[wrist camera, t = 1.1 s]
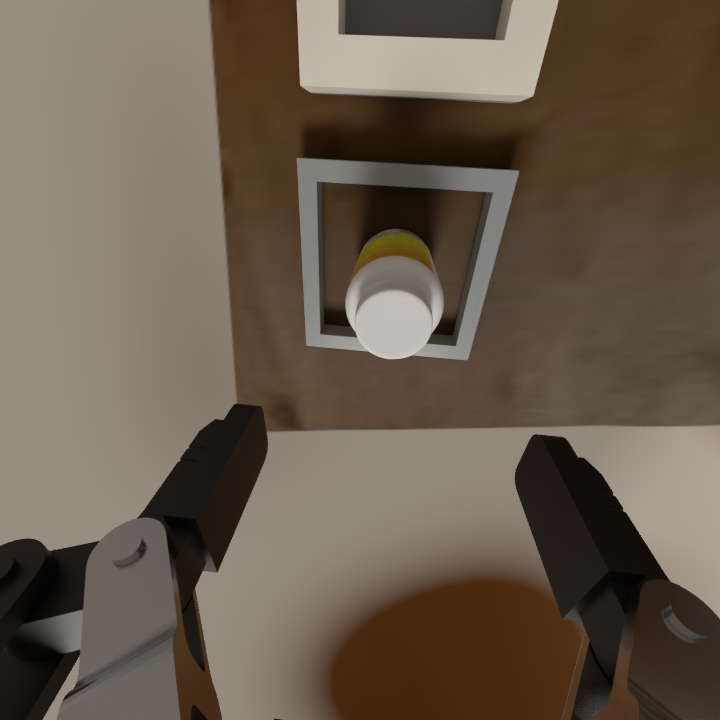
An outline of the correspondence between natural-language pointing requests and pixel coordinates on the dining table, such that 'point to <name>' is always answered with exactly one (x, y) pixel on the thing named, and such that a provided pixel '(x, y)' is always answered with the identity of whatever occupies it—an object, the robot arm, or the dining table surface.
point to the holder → (424, 48)
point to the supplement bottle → (394, 295)
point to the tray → (402, 175)
